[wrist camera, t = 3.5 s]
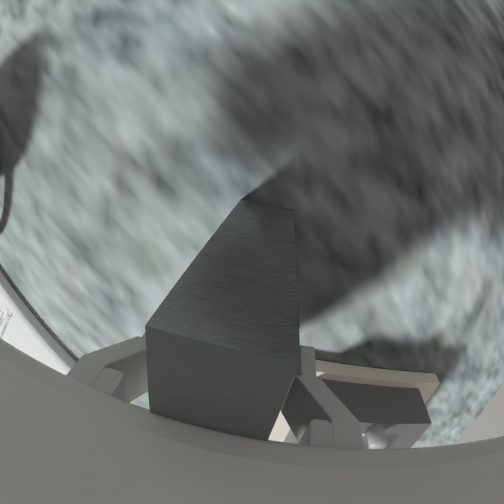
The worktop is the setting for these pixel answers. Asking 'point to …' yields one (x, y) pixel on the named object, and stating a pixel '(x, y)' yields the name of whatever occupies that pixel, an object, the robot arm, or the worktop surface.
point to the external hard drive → (29, 331)
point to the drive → (230, 328)
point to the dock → (375, 403)
